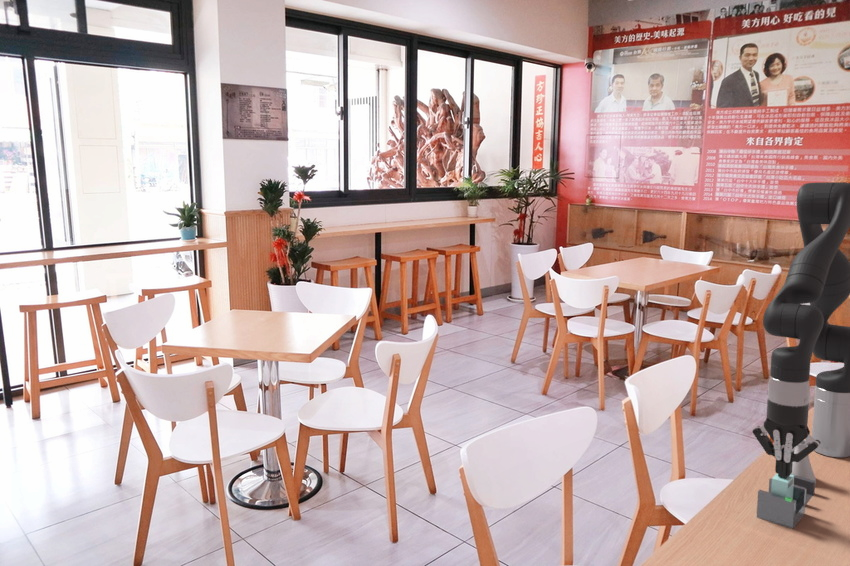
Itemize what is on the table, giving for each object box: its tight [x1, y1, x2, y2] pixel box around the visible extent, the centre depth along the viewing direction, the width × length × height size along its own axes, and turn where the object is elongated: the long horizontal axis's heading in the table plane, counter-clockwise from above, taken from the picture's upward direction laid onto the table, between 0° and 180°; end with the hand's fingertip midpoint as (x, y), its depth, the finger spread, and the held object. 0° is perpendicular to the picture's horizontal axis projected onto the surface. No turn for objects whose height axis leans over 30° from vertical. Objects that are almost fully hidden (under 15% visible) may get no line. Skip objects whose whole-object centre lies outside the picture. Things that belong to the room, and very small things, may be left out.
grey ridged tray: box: [791, 474, 816, 506], centre depth 147 cm, size 8×5×4 cm, turn 135°
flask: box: [791, 439, 817, 486], centre depth 154 cm, size 7×7×10 cm
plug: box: [771, 473, 794, 499], centre depth 139 cm, size 4×3×8 cm
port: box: [756, 477, 806, 530], centre depth 139 cm, size 8×7×7 cm
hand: (783, 476), depth 138 cm, fingers closed
